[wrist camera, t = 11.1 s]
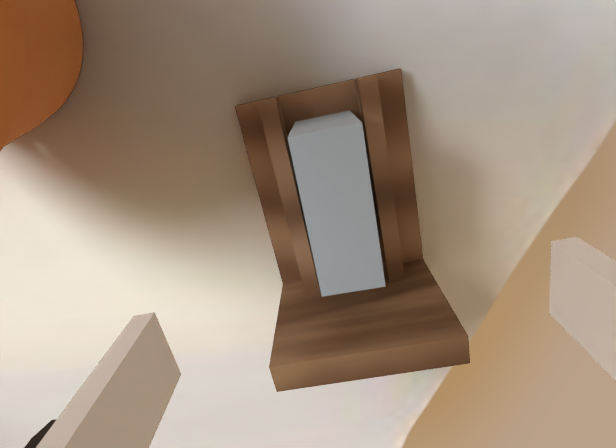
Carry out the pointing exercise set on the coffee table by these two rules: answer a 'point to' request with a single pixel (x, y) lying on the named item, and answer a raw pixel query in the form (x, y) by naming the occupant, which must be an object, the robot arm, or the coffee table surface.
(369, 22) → the coffee table surface
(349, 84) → the track
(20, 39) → the flower pot
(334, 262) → the blue-gray rectangular block
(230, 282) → the coffee table surface
